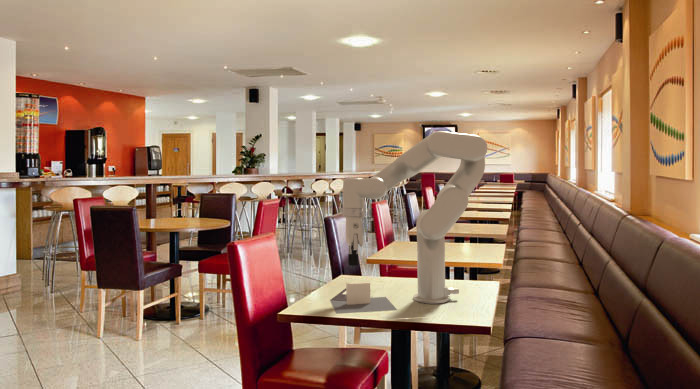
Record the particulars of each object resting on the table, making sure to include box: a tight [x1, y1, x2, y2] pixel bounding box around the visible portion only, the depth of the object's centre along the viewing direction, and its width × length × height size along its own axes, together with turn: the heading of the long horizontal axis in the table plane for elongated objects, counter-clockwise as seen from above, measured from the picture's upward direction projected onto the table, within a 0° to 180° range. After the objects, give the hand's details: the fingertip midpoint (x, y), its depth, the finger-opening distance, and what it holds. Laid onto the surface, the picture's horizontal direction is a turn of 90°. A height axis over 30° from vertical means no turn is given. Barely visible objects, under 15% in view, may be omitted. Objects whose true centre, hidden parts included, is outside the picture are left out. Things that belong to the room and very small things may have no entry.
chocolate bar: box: [330, 288, 346, 301], centre depth 204 cm, size 9×1×18 cm
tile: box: [345, 281, 371, 305], centre depth 191 cm, size 8×2×7 cm, turn 98°
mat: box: [329, 296, 398, 315], centre depth 189 cm, size 20×18×1 cm
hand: (353, 265), depth 196 cm, fingers closed
